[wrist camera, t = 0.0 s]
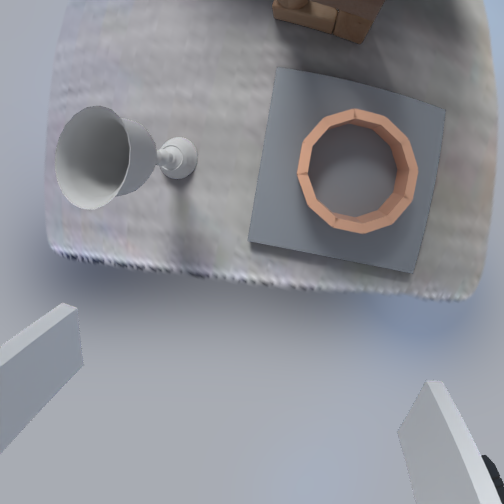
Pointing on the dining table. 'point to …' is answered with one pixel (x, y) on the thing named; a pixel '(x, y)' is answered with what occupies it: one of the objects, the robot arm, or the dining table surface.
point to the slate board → (342, 170)
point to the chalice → (113, 157)
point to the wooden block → (331, 15)
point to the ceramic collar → (404, 176)
